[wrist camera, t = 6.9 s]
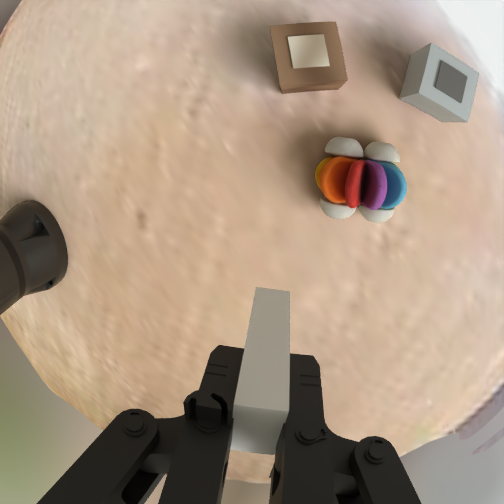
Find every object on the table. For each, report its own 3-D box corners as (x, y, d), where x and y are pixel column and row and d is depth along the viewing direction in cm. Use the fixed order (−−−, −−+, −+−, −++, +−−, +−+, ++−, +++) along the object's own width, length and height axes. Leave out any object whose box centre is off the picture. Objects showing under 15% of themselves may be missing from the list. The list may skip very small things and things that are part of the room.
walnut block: (282, 94, 28) (279, 84, 23) (274, 44, 26) (269, 25, 21) (338, 89, 27) (347, 79, 22) (329, 40, 25) (336, 20, 20)
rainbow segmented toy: (316, 134, 30) (322, 133, 23) (400, 145, 29) (427, 150, 22) (310, 210, 33) (314, 229, 26) (391, 218, 32) (413, 239, 25)
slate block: (398, 98, 27) (419, 92, 21) (410, 55, 24) (432, 42, 18) (442, 122, 26) (468, 122, 21) (453, 79, 24) (480, 73, 18)
